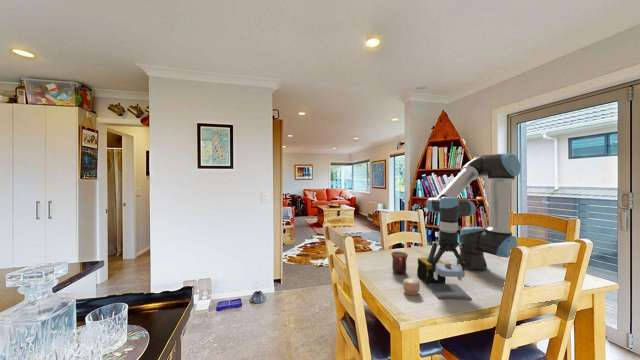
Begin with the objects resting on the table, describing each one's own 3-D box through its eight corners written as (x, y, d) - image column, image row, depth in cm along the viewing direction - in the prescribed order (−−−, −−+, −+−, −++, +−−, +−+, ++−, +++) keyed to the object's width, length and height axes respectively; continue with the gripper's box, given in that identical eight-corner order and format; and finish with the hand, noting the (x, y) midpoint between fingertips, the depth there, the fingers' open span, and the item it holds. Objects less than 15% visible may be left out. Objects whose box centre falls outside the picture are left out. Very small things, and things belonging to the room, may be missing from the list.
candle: (416, 276, 133) (416, 257, 132) (434, 275, 134) (435, 256, 133) (426, 284, 123) (426, 264, 122) (446, 283, 123) (446, 263, 123)
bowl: (416, 289, 117) (416, 278, 117) (421, 296, 110) (421, 284, 110) (401, 288, 118) (401, 277, 118) (405, 296, 111) (405, 284, 111)
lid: (454, 268, 119) (454, 260, 119) (464, 277, 109) (464, 268, 109) (432, 268, 120) (432, 259, 120) (440, 276, 110) (441, 267, 110)
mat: (456, 285, 121) (456, 284, 121) (471, 299, 107) (471, 298, 107) (426, 284, 122) (426, 283, 122) (438, 298, 108) (438, 297, 108)
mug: (390, 268, 143) (390, 251, 143) (406, 270, 141) (406, 251, 141) (392, 277, 131) (392, 257, 131) (409, 278, 129) (409, 259, 129)
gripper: (469, 229, 117) (469, 276, 117) (420, 228, 119) (419, 274, 119) (478, 233, 110) (477, 283, 110) (425, 231, 111) (425, 281, 112)
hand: (447, 279), depth 115 cm, fingers closed on lid, 10 cm apart
